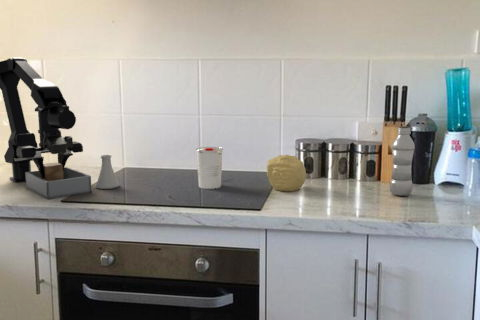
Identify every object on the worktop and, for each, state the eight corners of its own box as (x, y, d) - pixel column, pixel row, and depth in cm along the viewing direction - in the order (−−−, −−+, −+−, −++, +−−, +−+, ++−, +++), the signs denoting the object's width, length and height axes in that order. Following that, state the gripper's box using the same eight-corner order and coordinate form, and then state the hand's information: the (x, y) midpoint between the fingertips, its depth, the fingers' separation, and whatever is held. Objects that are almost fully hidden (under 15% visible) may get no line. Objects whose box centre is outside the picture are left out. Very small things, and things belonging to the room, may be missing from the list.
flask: (113, 190, 162) (111, 157, 160) (91, 189, 163) (89, 157, 161) (123, 185, 169) (121, 154, 167) (102, 184, 170) (100, 153, 168)
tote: (26, 188, 164) (25, 172, 163) (67, 182, 172) (66, 167, 172) (47, 199, 150) (46, 182, 150) (91, 192, 159) (90, 175, 158)
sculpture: (262, 191, 159) (262, 156, 158) (275, 183, 170) (275, 150, 168) (299, 195, 155) (300, 159, 153) (309, 186, 166) (310, 152, 164)
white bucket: (189, 186, 166) (188, 148, 164) (207, 182, 173) (207, 145, 171) (212, 191, 160) (211, 152, 158) (230, 186, 166) (230, 148, 164)
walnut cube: (47, 182, 161) (46, 166, 160) (41, 179, 165) (40, 164, 164) (63, 180, 164) (62, 164, 163) (57, 177, 168) (56, 162, 167)
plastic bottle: (413, 193, 157) (417, 126, 153) (410, 199, 151) (414, 129, 147) (391, 191, 159) (394, 125, 156) (387, 196, 153) (390, 128, 150)
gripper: (26, 131, 150) (30, 185, 152) (89, 127, 161) (91, 177, 164) (14, 128, 158) (17, 179, 161) (74, 123, 170) (77, 171, 172)
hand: (52, 176), depth 164 cm, fingers closed on walnut cube, 5 cm apart
